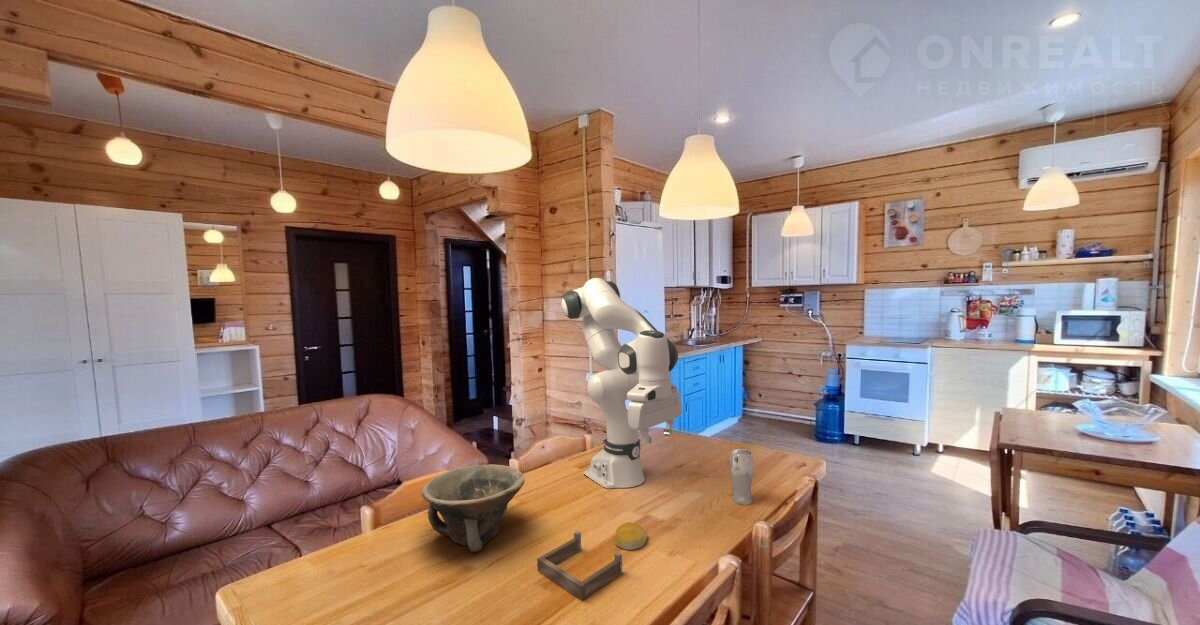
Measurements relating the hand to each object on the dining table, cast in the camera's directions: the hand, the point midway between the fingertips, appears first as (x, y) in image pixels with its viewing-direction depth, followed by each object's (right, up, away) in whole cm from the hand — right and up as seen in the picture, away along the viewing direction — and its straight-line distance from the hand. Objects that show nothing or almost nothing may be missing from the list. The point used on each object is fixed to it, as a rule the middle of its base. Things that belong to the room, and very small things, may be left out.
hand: (658, 439), depth 121 cm
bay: (-21, -25, -19) cm, 38 cm away
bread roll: (-8, -25, -7) cm, 27 cm away
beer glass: (+28, -23, +14) cm, 39 cm away
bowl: (-50, -26, 0) cm, 56 cm away
